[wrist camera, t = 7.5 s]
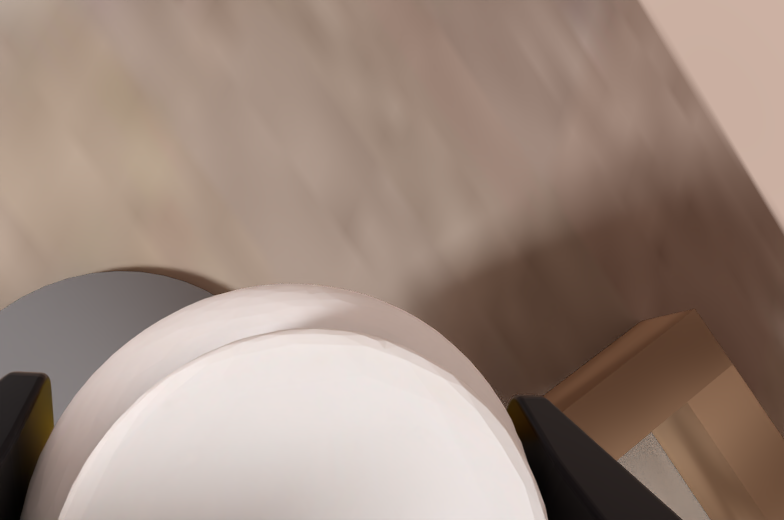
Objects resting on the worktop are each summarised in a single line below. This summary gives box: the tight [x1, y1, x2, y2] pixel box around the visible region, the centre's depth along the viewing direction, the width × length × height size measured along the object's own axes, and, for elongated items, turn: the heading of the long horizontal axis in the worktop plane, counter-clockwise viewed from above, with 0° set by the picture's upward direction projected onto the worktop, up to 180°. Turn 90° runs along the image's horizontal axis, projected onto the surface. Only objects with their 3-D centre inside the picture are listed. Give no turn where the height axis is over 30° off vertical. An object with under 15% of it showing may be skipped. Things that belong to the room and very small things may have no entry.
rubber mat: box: [0, 271, 214, 427], centre depth 21 cm, size 10×10×1 cm
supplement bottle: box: [20, 283, 548, 520], centre depth 10 cm, size 6×6×10 cm
